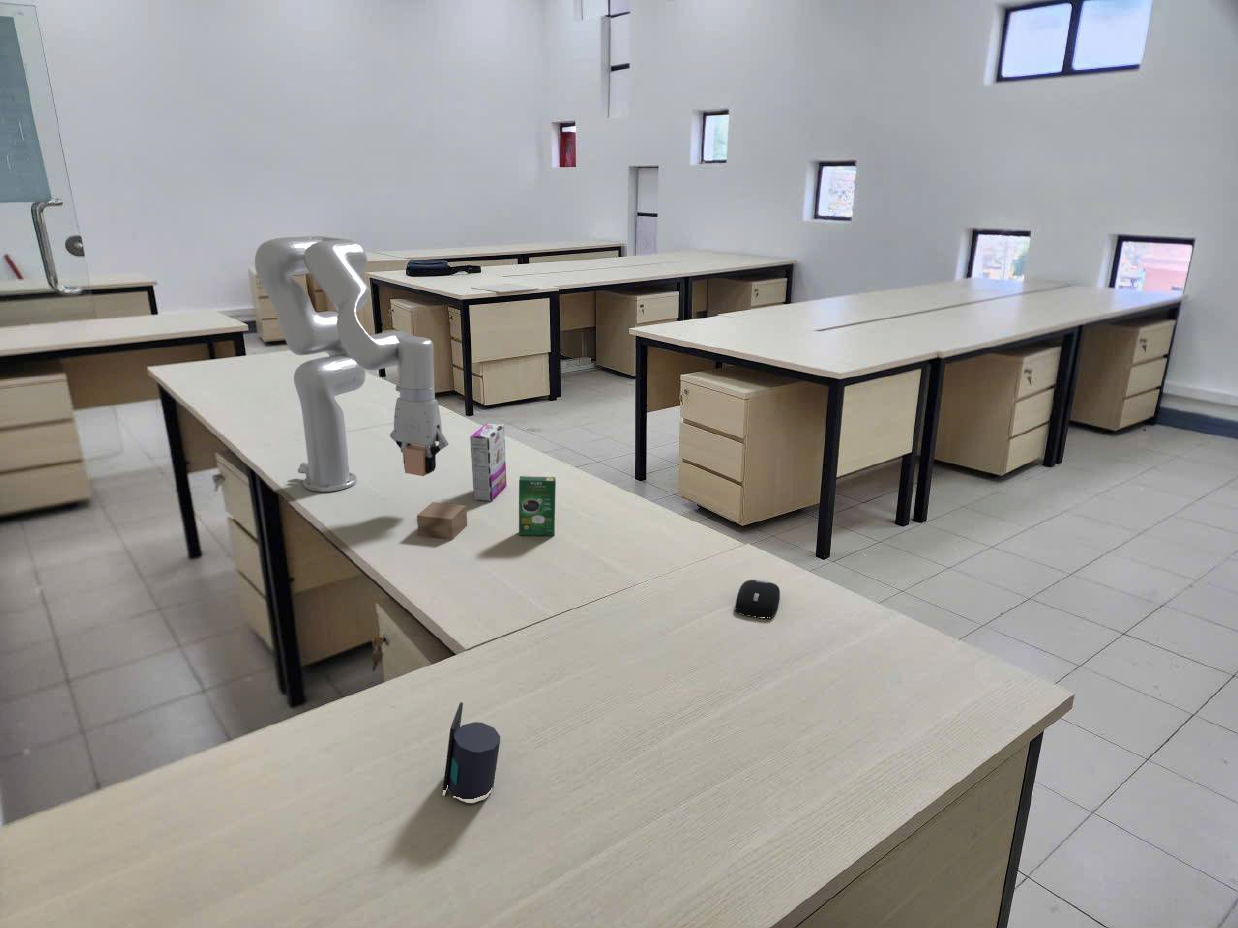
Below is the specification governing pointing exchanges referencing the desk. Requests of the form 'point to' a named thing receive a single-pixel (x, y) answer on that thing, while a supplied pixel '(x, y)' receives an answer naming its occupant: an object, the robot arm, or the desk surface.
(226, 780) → the desk surface
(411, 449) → the peach-colored cube
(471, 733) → the speaker
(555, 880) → the desk surface
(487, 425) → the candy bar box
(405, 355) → the robot arm
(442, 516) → the walnut block
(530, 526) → the coffee box
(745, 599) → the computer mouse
